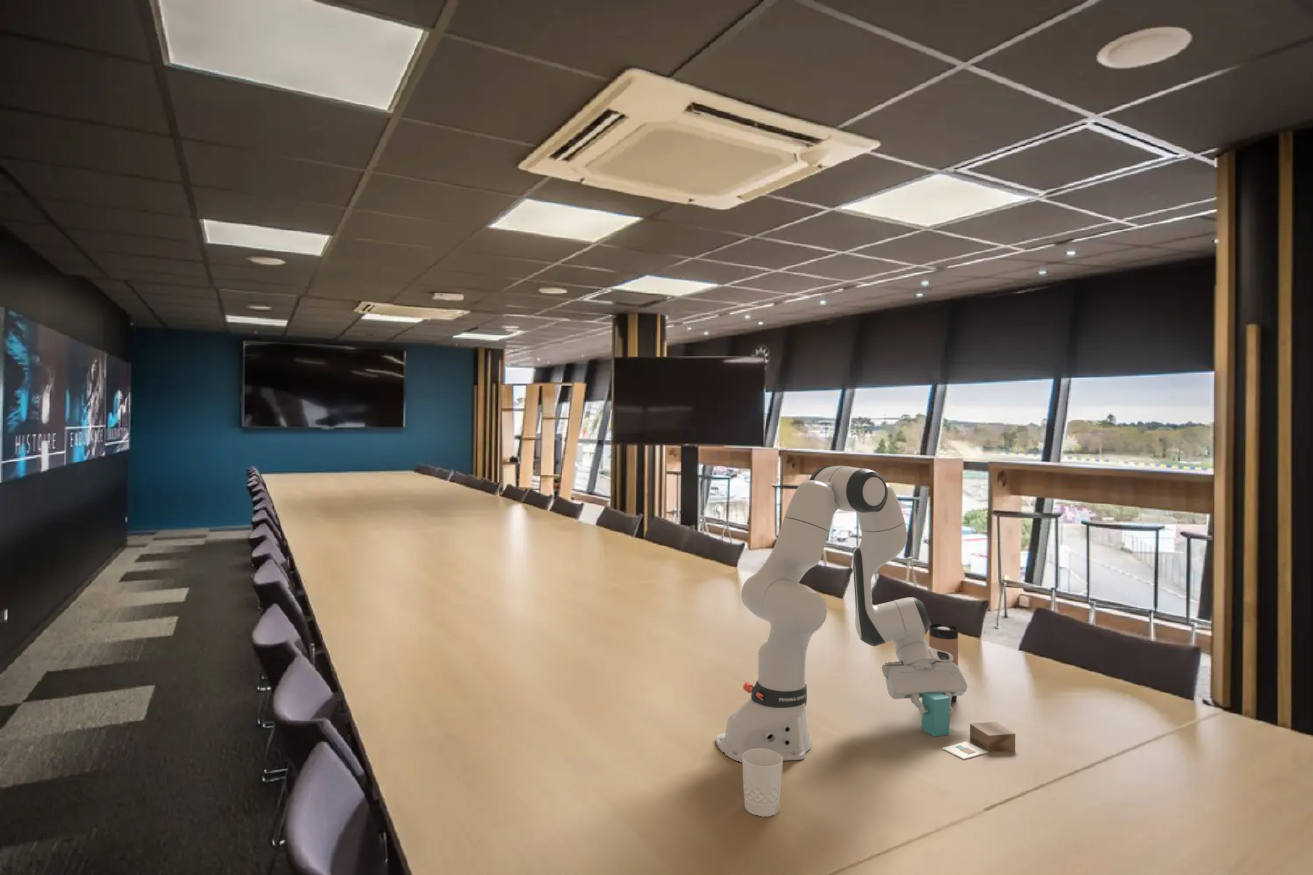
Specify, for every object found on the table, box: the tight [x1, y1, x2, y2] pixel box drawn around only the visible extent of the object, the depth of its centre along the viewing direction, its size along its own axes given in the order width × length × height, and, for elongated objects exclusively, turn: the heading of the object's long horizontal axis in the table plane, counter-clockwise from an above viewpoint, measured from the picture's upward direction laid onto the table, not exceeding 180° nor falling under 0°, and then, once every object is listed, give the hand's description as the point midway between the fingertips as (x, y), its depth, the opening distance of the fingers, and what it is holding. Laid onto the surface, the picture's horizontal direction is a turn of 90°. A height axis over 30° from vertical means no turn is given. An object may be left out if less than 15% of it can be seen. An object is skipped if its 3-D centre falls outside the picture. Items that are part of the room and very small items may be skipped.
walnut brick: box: [969, 721, 1016, 753], centre depth 168 cm, size 7×7×4 cm
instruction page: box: [942, 741, 989, 761], centre depth 164 cm, size 8×6×1 cm
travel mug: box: [928, 622, 959, 703], centre depth 197 cm, size 8×8×20 cm
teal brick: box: [921, 692, 951, 737], centre depth 175 cm, size 4×4×9 cm
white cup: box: [741, 749, 784, 818], centre depth 138 cm, size 8×8×10 cm
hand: (937, 712), depth 174 cm, fingers closed on teal brick, 5 cm apart
